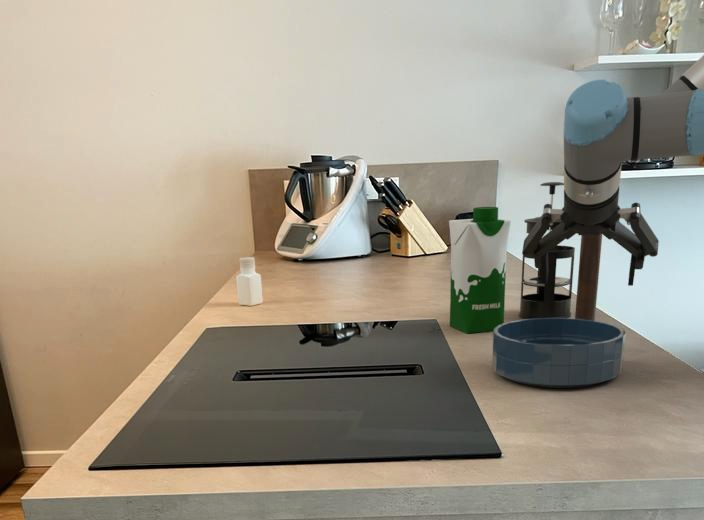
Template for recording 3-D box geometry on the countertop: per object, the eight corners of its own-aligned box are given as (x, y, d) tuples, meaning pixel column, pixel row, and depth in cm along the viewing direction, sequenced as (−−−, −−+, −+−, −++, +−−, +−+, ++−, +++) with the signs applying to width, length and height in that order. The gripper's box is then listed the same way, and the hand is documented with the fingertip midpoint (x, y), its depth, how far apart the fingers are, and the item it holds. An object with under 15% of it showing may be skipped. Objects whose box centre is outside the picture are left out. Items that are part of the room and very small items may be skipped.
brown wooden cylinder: (597, 327, 134) (606, 229, 127) (600, 334, 129) (609, 232, 123) (568, 327, 135) (575, 230, 128) (570, 333, 130) (577, 233, 124)
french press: (575, 321, 139) (586, 182, 130) (521, 322, 140) (528, 184, 131) (565, 308, 150) (574, 179, 141) (515, 309, 151) (521, 181, 142)
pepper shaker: (237, 305, 166) (233, 259, 162) (249, 302, 169) (246, 256, 165) (251, 306, 164) (247, 259, 160) (264, 303, 167) (260, 257, 163)
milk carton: (464, 335, 132) (467, 210, 124) (442, 325, 140) (443, 207, 132) (511, 330, 134) (517, 207, 127) (486, 320, 142) (490, 204, 134)
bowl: (612, 358, 115) (616, 317, 112) (628, 392, 99) (633, 346, 97) (493, 357, 118) (494, 317, 116) (490, 390, 103) (492, 345, 100)
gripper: (498, 208, 113) (508, 295, 132) (685, 206, 106) (667, 299, 125) (505, 167, 116) (514, 258, 135) (688, 163, 108) (670, 259, 127)
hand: (587, 278), depth 130 cm, fingers open, 13 cm apart
